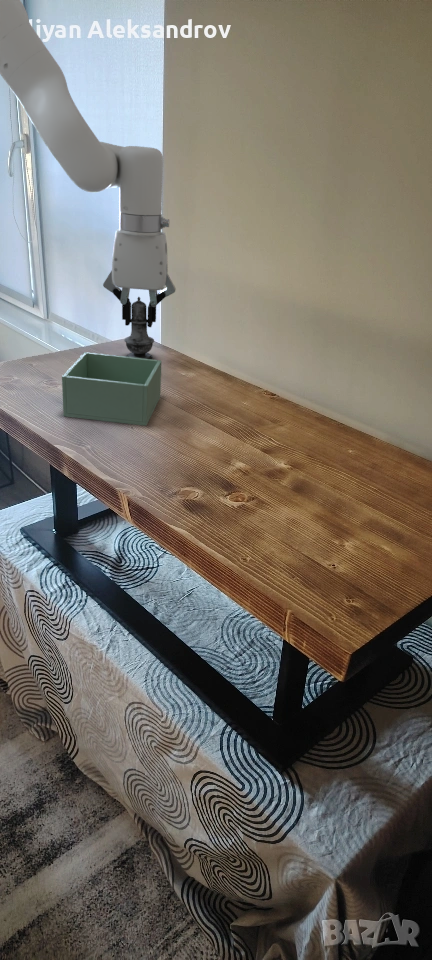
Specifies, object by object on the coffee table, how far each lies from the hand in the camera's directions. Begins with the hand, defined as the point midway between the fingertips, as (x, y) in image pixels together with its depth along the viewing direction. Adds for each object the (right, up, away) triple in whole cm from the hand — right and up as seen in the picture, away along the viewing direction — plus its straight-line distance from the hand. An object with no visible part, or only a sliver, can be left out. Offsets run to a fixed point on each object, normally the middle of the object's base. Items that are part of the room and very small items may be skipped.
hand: (139, 323), depth 122 cm
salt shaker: (0, -6, +3) cm, 7 cm away
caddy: (-2, -18, -19) cm, 26 cm away
